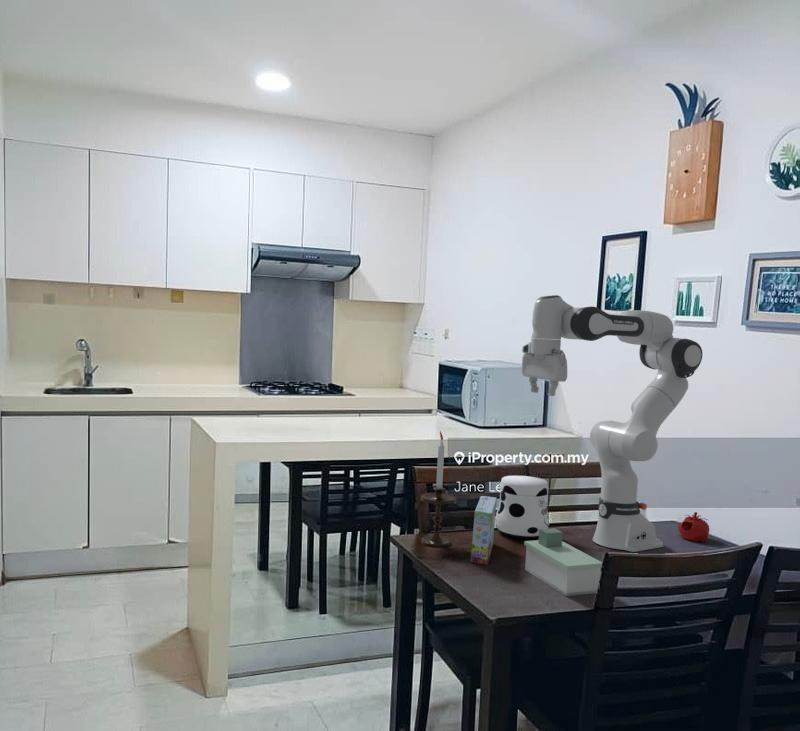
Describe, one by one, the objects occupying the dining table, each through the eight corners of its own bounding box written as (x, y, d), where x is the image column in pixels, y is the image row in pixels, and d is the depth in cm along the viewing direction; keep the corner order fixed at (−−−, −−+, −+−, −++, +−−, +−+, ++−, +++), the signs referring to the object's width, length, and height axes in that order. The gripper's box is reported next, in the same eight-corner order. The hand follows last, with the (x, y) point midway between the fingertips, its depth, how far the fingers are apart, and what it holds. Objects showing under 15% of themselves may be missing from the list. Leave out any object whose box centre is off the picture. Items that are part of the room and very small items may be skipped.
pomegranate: (703, 536, 240) (705, 509, 240) (713, 544, 230) (715, 516, 230) (673, 533, 241) (676, 506, 241) (682, 541, 231) (684, 513, 231)
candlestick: (411, 542, 215) (417, 430, 213) (430, 535, 224) (436, 427, 222) (442, 550, 209) (448, 434, 207) (460, 542, 218) (466, 431, 216)
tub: (555, 567, 199) (557, 543, 199) (598, 593, 180) (600, 566, 180) (525, 569, 195) (526, 545, 195) (565, 596, 177) (567, 569, 176)
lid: (557, 544, 199) (558, 525, 199) (603, 569, 180) (604, 547, 179) (523, 546, 195) (525, 527, 195) (566, 572, 176) (568, 550, 176)
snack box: (489, 565, 198) (492, 513, 197) (469, 563, 199) (472, 511, 198) (494, 543, 218) (497, 496, 218) (476, 541, 220) (479, 494, 219)
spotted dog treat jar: (559, 539, 227) (562, 484, 226) (516, 544, 219) (519, 487, 218) (525, 524, 242) (528, 473, 241) (484, 529, 234) (487, 476, 233)
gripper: (574, 350, 203) (571, 397, 204) (536, 347, 222) (534, 390, 223) (555, 349, 201) (552, 397, 201) (519, 346, 220) (516, 390, 221)
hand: (542, 394), depth 212 cm, fingers open, 8 cm apart
